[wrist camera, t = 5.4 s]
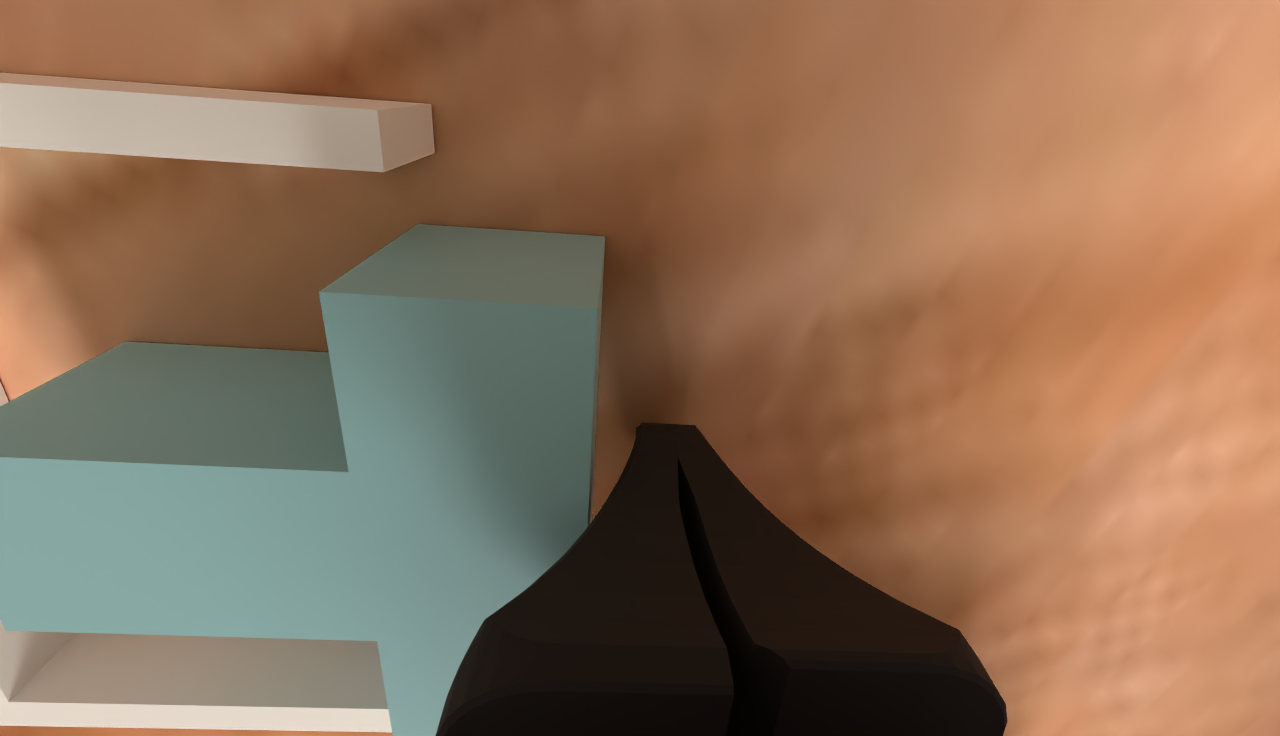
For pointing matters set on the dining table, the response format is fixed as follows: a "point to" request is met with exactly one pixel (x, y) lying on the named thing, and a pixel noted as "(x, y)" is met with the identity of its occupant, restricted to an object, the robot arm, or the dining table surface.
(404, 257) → the t block
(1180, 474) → the dining table surface
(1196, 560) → the dining table surface
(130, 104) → the white u-shaped bracket
